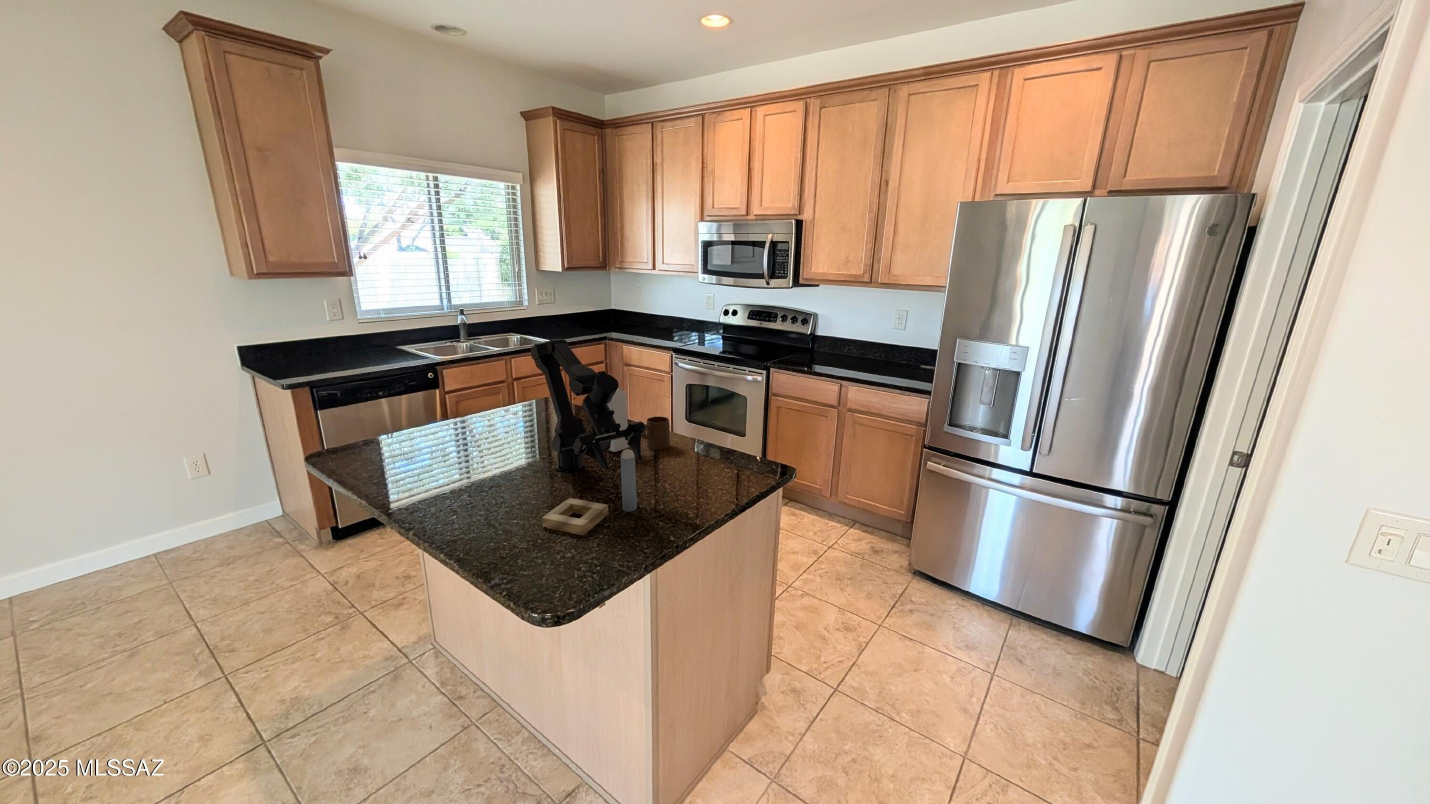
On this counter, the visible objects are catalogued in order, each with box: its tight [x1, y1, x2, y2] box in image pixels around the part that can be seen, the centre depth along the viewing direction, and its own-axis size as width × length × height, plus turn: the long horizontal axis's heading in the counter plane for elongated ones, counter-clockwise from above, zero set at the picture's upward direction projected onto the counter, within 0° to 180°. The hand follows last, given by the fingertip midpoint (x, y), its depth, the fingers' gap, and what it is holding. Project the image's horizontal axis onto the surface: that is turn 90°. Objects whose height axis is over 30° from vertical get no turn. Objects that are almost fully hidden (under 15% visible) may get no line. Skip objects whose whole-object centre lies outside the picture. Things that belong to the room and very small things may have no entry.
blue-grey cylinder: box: [620, 448, 638, 513], centre depth 131 cm, size 4×4×16 cm
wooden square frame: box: [541, 497, 609, 536], centre depth 127 cm, size 11×11×2 cm
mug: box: [641, 416, 671, 451], centre depth 174 cm, size 12×8×9 cm, turn 145°
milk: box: [608, 386, 630, 453], centre depth 172 cm, size 6×6×22 cm
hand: (624, 466), depth 132 cm, fingers open, 9 cm apart
